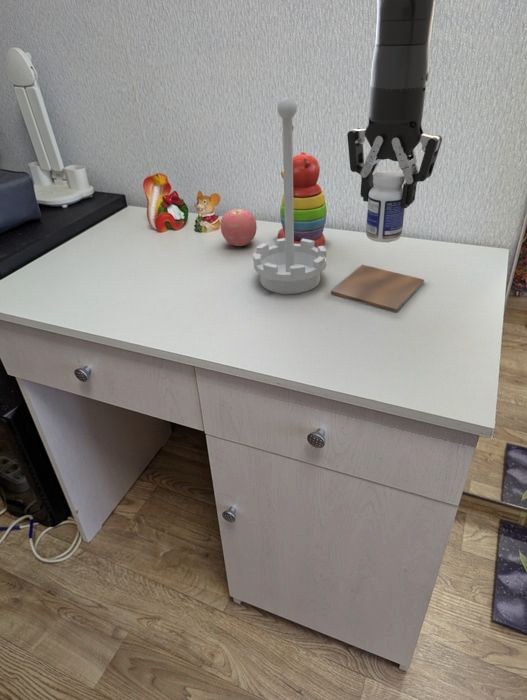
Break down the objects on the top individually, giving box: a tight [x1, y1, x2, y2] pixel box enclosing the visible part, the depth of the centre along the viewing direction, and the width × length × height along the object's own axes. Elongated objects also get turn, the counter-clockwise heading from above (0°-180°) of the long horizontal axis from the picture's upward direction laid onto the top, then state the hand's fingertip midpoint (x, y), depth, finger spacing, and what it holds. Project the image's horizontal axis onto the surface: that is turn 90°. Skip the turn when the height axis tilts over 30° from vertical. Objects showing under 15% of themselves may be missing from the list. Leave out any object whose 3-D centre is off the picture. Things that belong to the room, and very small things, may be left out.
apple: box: [219, 208, 258, 247], centre depth 102 cm, size 7×7×8 cm
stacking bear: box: [277, 151, 328, 248], centre depth 98 cm, size 11×10×18 cm
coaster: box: [330, 264, 425, 313], centre depth 86 cm, size 12×12×1 cm
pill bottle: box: [365, 170, 406, 243], centre depth 78 cm, size 6×6×10 cm
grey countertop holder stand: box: [252, 97, 328, 295], centre depth 82 cm, size 13×13×30 cm
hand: (386, 203), depth 77 cm, fingers closed on pill bottle, 5 cm apart
